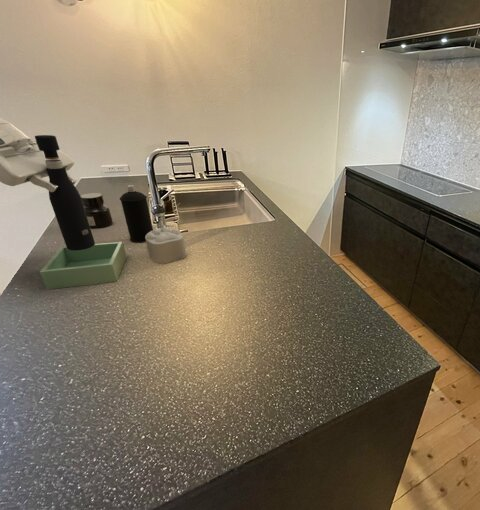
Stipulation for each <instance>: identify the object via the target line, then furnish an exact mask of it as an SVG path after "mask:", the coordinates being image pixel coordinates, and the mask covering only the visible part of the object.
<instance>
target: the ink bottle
mask: <svg viewBox="0 0 480 510" xmlns="http://www.w3.org/2000/svg"><path fill="white" fill-rule="evenodd" d="M80 196H81V199H82V202H83V206H84V209H85V212H86V215H87V219H88V222H89V225H90V229H101V228H105V227H108V226H109V227H110V226H111V225H112V224H113V223H114V221H113V217H112V214H111V211H110V208H109V206H107V205H106V204H105V200H104V197H103V194H102V193H99V192H98V193H97V192H92V193H91V192H90V193H85V194H84V193H83V194H80Z"/></svg>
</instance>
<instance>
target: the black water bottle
mask: <svg viewBox="0 0 480 510" xmlns="http://www.w3.org/2000/svg"><path fill="white" fill-rule="evenodd" d="M34 139H35V141H36V142H37V145H38V148H39V150H41V151H43V152H44V154H45V158H46V159H52V160H46V162H45V163H46V164H47V165H46V166H47V167H48V168H46V170H47V173H48V176H47V177H48V179H49V180H48V182H50V183H51V182H54V183H55V184H56V185H58V186H59V188H58V189H57V190H56V191H54V192H50V191H48V198H49V201H50V205H51V208H52V210H53V214H54V215H55V216H54V217H55V218H56V221H57V224H58V227H59V230H60V233H61V236H62V238H63V242H64V244H65V246H66V247H67V249H69V250H73V251H76V250H84V249H88V248H91V247H93V246H94V245H95V244H96V242H95V239H94V235H93V232H92V228H90V225H89V222H88V219H87V215H86V212H85V209H84V206H83V202H82V199H81V194H80V192H79V190H78V188H77V187H76V186H75V184H74V185H73V183H72V182H71V181H70V179H69V178H68V175H67V172H66V169H65V167H63V164H62V162H61V160H58V158H59V156H58V154H57V151H56V150H60V151H61V149H60V146H59V143H58V140H57V136H56V135H51V134H39V135H38V134H37V135H35V136H34Z"/></svg>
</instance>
